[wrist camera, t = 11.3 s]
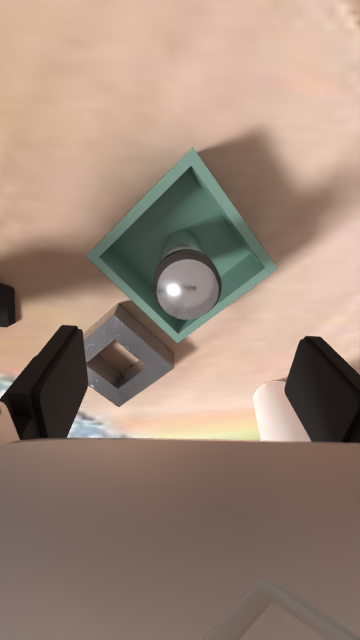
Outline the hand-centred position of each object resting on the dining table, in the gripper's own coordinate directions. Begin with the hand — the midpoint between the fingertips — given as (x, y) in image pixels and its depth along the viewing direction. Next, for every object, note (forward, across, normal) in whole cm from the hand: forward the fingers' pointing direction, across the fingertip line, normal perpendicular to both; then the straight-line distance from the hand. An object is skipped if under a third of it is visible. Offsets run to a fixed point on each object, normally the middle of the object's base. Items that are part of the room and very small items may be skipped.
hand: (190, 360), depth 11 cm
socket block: (+20, +7, +13) cm, 25 cm away
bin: (+19, 0, -1) cm, 19 cm away
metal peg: (+18, 0, -1) cm, 19 cm away
